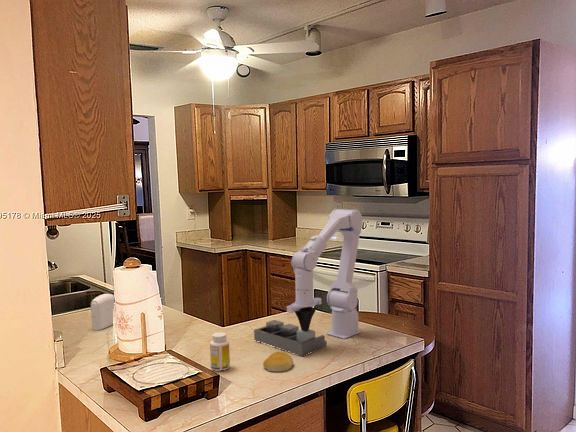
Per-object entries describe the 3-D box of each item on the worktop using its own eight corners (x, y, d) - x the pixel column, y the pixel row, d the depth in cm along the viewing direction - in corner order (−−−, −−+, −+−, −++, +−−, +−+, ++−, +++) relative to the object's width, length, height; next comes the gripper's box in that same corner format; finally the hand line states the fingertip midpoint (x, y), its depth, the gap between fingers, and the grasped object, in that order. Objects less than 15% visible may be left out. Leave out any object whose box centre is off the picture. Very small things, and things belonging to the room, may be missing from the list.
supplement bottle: (230, 364, 150) (229, 330, 149) (229, 371, 145) (228, 336, 144) (211, 365, 150) (210, 331, 149) (210, 372, 144) (209, 337, 143)
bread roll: (259, 371, 145) (259, 358, 144) (271, 360, 153) (271, 347, 153) (285, 375, 142) (285, 361, 141) (297, 363, 150) (296, 350, 150)
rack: (279, 332, 179) (279, 316, 178) (326, 346, 163) (326, 328, 163) (254, 341, 170) (253, 324, 170) (301, 356, 155) (301, 338, 154)
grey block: (305, 342, 165) (304, 328, 164) (315, 346, 161) (315, 330, 161) (296, 346, 162) (296, 331, 161) (307, 349, 159) (306, 333, 158)
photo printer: (99, 331, 185) (97, 298, 184) (90, 330, 186) (88, 297, 185) (117, 323, 194) (116, 292, 193) (108, 322, 196) (107, 291, 195)
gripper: (298, 295, 152) (298, 338, 153) (328, 286, 163) (328, 327, 164) (281, 291, 157) (282, 333, 158) (312, 283, 167) (312, 323, 169)
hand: (305, 330), depth 161 cm, fingers closed
